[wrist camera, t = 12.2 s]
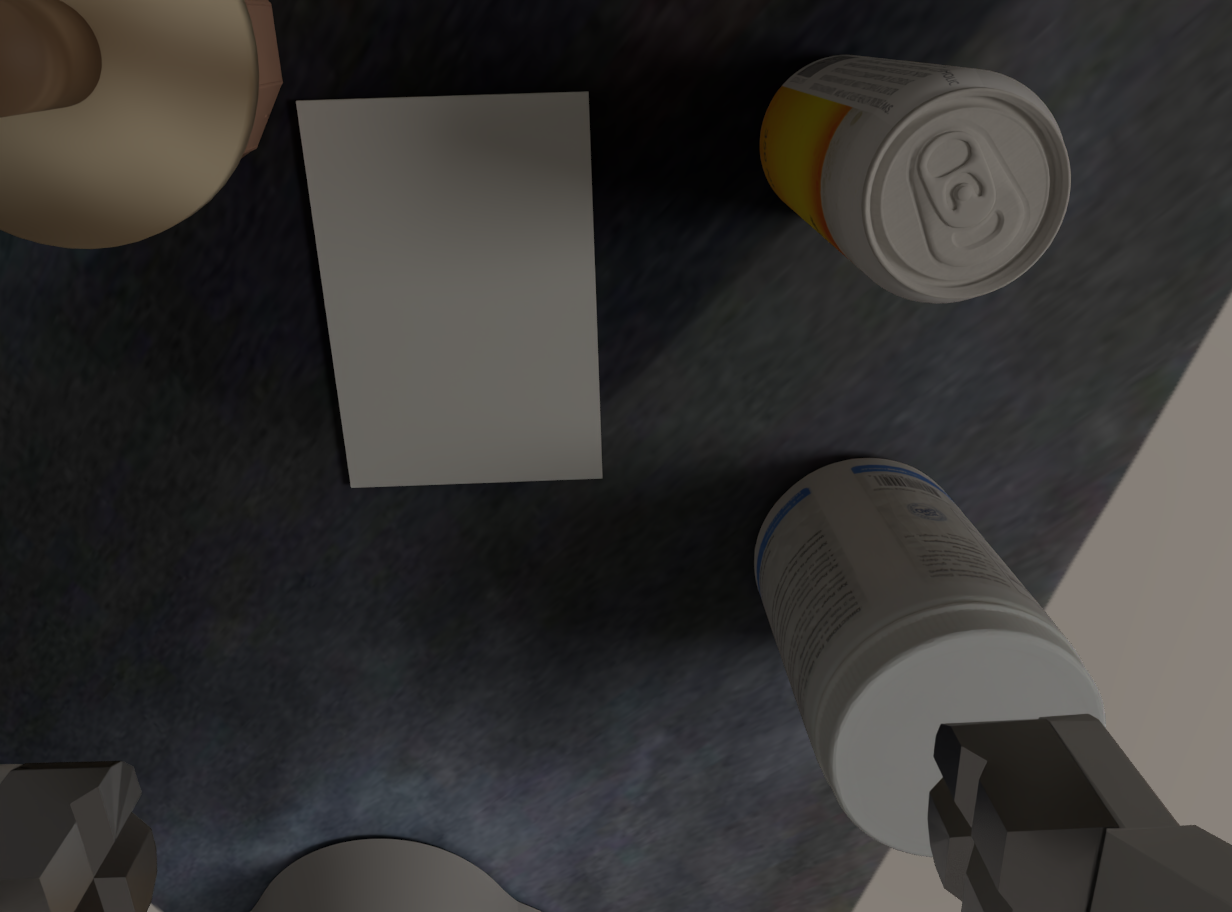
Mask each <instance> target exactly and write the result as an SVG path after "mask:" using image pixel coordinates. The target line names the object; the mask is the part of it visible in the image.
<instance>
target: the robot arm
mask: <svg viewBox="0 0 1232 912" xmlns="http://www.w3.org/2000/svg"><path fill="white" fill-rule="evenodd" d="M933 757H934V759H935V761H936V763H937V766H938V768H939V770H940V772H941V774H942V776H943V777H942V779H941V780H940V781H939V782H938V783H937V784H936V785H935V786H934V787H933V788H932V789H931V790H930V792H929V803H928V816H927V820H928V830H929V840H930V848H931V851H932V855H933V859H934V863H935V866H936V869H937V872H938V874H939V877H940V879H941V882H942V884H943V886H944V888H945V889H946V890H947V891H949V892H950V893H952V894H953V895H954V896H956V897H957V898H958V899H960V900H961V901H962V909H961V912H1232V845H1230V844H1229V843H1226V842H1225V841H1223V840H1221V839H1220V838H1218V837H1216V836H1214V835H1212V834H1210V833H1209V832H1207V831H1205V830H1203V829H1201V828H1199V827H1198V826H1196V825H1187V826H1180V825H1179V824H1178V823H1177V821H1176V820H1175V819H1174V817H1173V816H1172V815H1171V813H1170V812H1169V811H1168V810H1167V808H1166V807H1165V806H1164V804H1163V803H1162V802H1161V801H1160V799H1159V798H1158V796H1157V795H1156V794H1155V793H1154V791H1153V790H1152V789H1151V787H1150V786H1149V785H1148V783H1147V782H1146V781H1145V779H1144V778H1143V777H1142V775H1141V774H1140V773H1139V771H1138V770H1137V769H1136V768H1135V766H1134V765H1133V764H1132V762H1131V761H1130V760H1129V758H1128V757H1127V756H1126V754H1125V753H1124V752H1123V750H1122V749H1121V748H1120V747H1119V745H1118V744H1117V743H1116V741H1115V740H1114V739H1113V737H1112V736H1111V735H1110V734H1109V732H1108V731H1107V730H1106V728H1105V727H1104V726H1103V724H1102V723H1101V722H1100V720H1099V719H1097V718H1095V717H1094V716H1092V715H1090V714H1076V715H1062V716H1048V717H1039V718H1038V719H1023V720H1004V721H984V722H965V723H945V724H941V725H940V727H939V729H938V732H937V734H936V738H935V746H934V754H933ZM141 794H142V792H141V789H140V786H139V783H138V780H137V776H136V773H135V770H134V767H133V766H131V765H129V764H127V763H125V762H123V761H97V762H54V763H25V764H23V765H21V764H0V912H147V910H148V908H149V906H150V903H151V900H152V895H153V890H154V885H155V880H156V876H157V853H156V845H155V841H154V837H153V833H152V829H151V828H150V827H149V826H148V825H147V824H145V823H144V822H143V821H142V820H141V819H140V818H138V817H137V816H136V815H135V814H134V813H132V810H133V808H134V806H135V805H136V803H137V801H138V799H139V798H140V796H141ZM250 912H541V911H539V910H537V909H534V908H532V907H530V906H527V905H525V904H522V903H520V902H518V901H516V900H515V899H514V898H512V897H511V896H510V895H509V894H507V893H506V892H505V891H504V890H503V889H502V888H501V887H500V886H499V885H498V884H497V883H496V882H495V881H494V880H493V879H492V878H491V877H490V876H488V875H487V874H486V873H485V872H483V871H482V870H481V869H479V868H478V867H476V866H475V865H473V864H472V863H470V862H468V861H467V860H465V859H463V858H461V857H459V856H457V855H455V854H453V853H450V852H448V851H445V850H443V849H440V848H437V847H434V846H430V845H426V844H422V843H417V842H412V841H406V840H397V839H363V840H355V841H348V842H343V843H339V844H335V845H331V846H328V847H325V848H322V849H319V850H317V851H314V852H312V853H310V854H308V855H306V856H304V857H302V858H300V859H298V860H297V861H295V862H294V863H292V864H291V865H289V866H288V867H287V868H285V869H284V870H283V871H282V872H281V873H280V874H278V875H277V876H276V877H275V878H274V880H273V881H272V882H271V883H270V884H269V886H268V887H267V888H266V890H265V891H264V893H263V894H262V896H261V898H260V899H259V901H258V902H257V904H256V905H255V906H254V908H253V909H252V910H251V911H250Z"/></svg>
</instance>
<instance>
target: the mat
mask: <svg viewBox="0 0 1232 912" xmlns="http://www.w3.org/2000/svg"><path fill="white" fill-rule="evenodd" d="M296 106H297V113H298V120H299V127H300V134H301V141H302V148H303V155H304V162H305V169H306V176H307V183H308V190H309V197H310V204H311V211H312V218H313V225H314V232H315V239H316V246H317V253H318V260H319V267H320V274H321V281H322V288H323V295H324V302H325V309H326V316H327V323H328V330H329V337H330V344H331V351H332V358H333V365H334V372H335V379H336V386H337V393H338V400H339V407H340V414H341V421H342V428H343V435H344V442H345V449H346V456H347V463H348V470H349V477H350V484H351V488H358V487H385V486H412V485H439V484H466V483H493V482H519V481H546V480H573V479H600V478H602V451H601V423H600V395H599V368H598V340H597V312H596V285H595V257H594V229H593V202H592V174H591V146H590V118H589V91H583V92H550V93H518V94H486V95H454V96H422V97H390V98H358V99H326V100H298V101H296Z"/></svg>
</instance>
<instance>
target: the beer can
mask: <svg viewBox="0 0 1232 912" xmlns="http://www.w3.org/2000/svg"><path fill="white" fill-rule="evenodd" d="M760 157H761V163H762V167H763V170H764V173H765V176H766V178H767V180H768V182H769V184H770V186H771V187H772V189H773V190H774V192H775V193H776V194H777V196H778V197H779V198H780V199H781V200H782V201H783V202H784V203H785V204H786V205H788V206H789V207H790V208H791V209H792V210H793V211H794V212H796V213H797V214H798V215H799V216H800V217H801V218H802V219H803V220H805V221H806V222H807V223H808V224H809V225H810V226H811V227H813V228H814V229H815V230H816V231H817V232H818V233H819V234H821V235H822V236H823V237H824V238H825V239H826V240H827V241H828V242H830V243H831V244H832V245H833V246H834V247H835V248H836V249H838V250H839V251H840V252H841V253H842V254H843V255H844V256H846V257H847V258H848V259H849V260H850V261H851V262H852V263H853V264H855V265H856V266H857V267H858V268H859V269H860V270H861V271H863V272H864V273H865V274H866V275H867V276H868V277H869V278H871V279H872V280H873V281H874V282H875V283H877V284H878V285H879V286H881V287H882V288H884V289H885V290H887V291H889V292H891V293H893V294H895V295H897V296H900V297H903V298H905V299H908V300H913V301H917V302H923V303H952V302H959V301H963V300H967V299H971V298H974V297H977V296H980V295H984V294H987V293H990V292H992V291H995V290H997V289H999V288H1001V287H1003V286H1005V285H1007V284H1009V283H1010V282H1012V281H1014V280H1015V279H1017V278H1018V277H1019V276H1021V275H1022V274H1023V273H1025V272H1026V271H1027V270H1028V269H1029V268H1030V267H1031V266H1033V265H1034V264H1035V263H1036V261H1037V260H1038V259H1039V258H1040V257H1041V256H1042V255H1043V254H1044V252H1045V251H1046V250H1047V248H1048V247H1049V245H1050V244H1051V242H1052V241H1053V239H1054V237H1055V236H1056V234H1057V232H1058V230H1059V228H1060V226H1061V223H1062V221H1063V218H1064V215H1065V212H1066V209H1067V205H1068V201H1069V195H1070V186H1071V172H1070V163H1069V158H1068V154H1067V150H1066V147H1065V144H1064V141H1063V137H1062V135H1061V132H1060V129H1059V127H1058V124H1057V123H1056V121H1055V119H1054V117H1053V115H1052V113H1051V112H1050V111H1049V109H1048V108H1047V106H1046V105H1045V104H1044V102H1043V101H1042V100H1041V99H1040V98H1039V97H1038V96H1037V95H1036V94H1035V93H1034V92H1032V91H1031V90H1030V89H1029V88H1027V87H1026V86H1025V85H1023V84H1021V83H1020V82H1018V81H1016V80H1015V79H1012V78H1010V77H1008V76H1005V75H1003V74H1000V73H996V72H993V71H989V70H981V69H973V68H964V67H955V66H946V65H937V64H928V63H919V62H910V61H900V60H891V59H882V58H873V57H864V56H855V55H837V56H831V57H826V58H822V59H820V60H817V61H815V62H812V63H810V64H808V65H806V66H805V67H803V68H802V69H800V70H799V71H797V72H796V73H795V74H793V75H792V76H791V77H790V78H789V79H788V80H787V81H786V82H785V83H784V84H783V85H782V86H781V87H780V89H779V90H778V91H777V93H776V94H775V96H774V97H773V99H772V101H771V102H770V104H769V106H768V109H767V111H766V113H765V116H764V119H763V123H762V127H761V133H760Z"/></svg>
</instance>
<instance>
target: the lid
mask: <svg viewBox="0 0 1232 912" xmlns="http://www.w3.org/2000/svg"><path fill="white" fill-rule="evenodd" d="M258 94H259V64H258V53H257V45H256V40H255V35H254V31H253V26H252V21H251V18H250V15H249V12H248V9H247V6H246V3H245V0H0V230H2V231H5V232H7V233H9V234H12V235H14V236H17V237H20V238H23V239H27V240H30V241H34V242H37V243H41V244H46V245H52V246H58V247H64V248H81V249H96V248H106V247H116V246H120V245H125V244H129V243H133V242H137V241H140V240H143V239H145V238H148V237H150V236H153V235H155V234H158V233H160V232H162V231H164V230H166V229H168V228H171V227H173V226H174V225H176V224H178V223H180V222H181V221H183V220H185V219H186V218H188V217H190V216H192V215H193V214H194V213H196V212H197V211H198V210H199V209H201V208H202V207H203V206H204V205H206V204H207V203H208V202H209V201H210V200H211V199H212V198H213V197H214V196H215V195H216V194H217V193H218V192H219V191H220V189H221V188H222V187H223V186H224V185H225V184H226V182H227V181H228V179H229V178H230V176H231V175H232V173H233V172H234V170H235V169H236V167H237V166H238V164H239V161H240V159H241V157H242V155H243V153H244V151H245V149H246V147H247V144H248V141H249V138H250V135H251V131H252V128H253V125H254V121H255V115H256V109H257V103H258Z"/></svg>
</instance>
